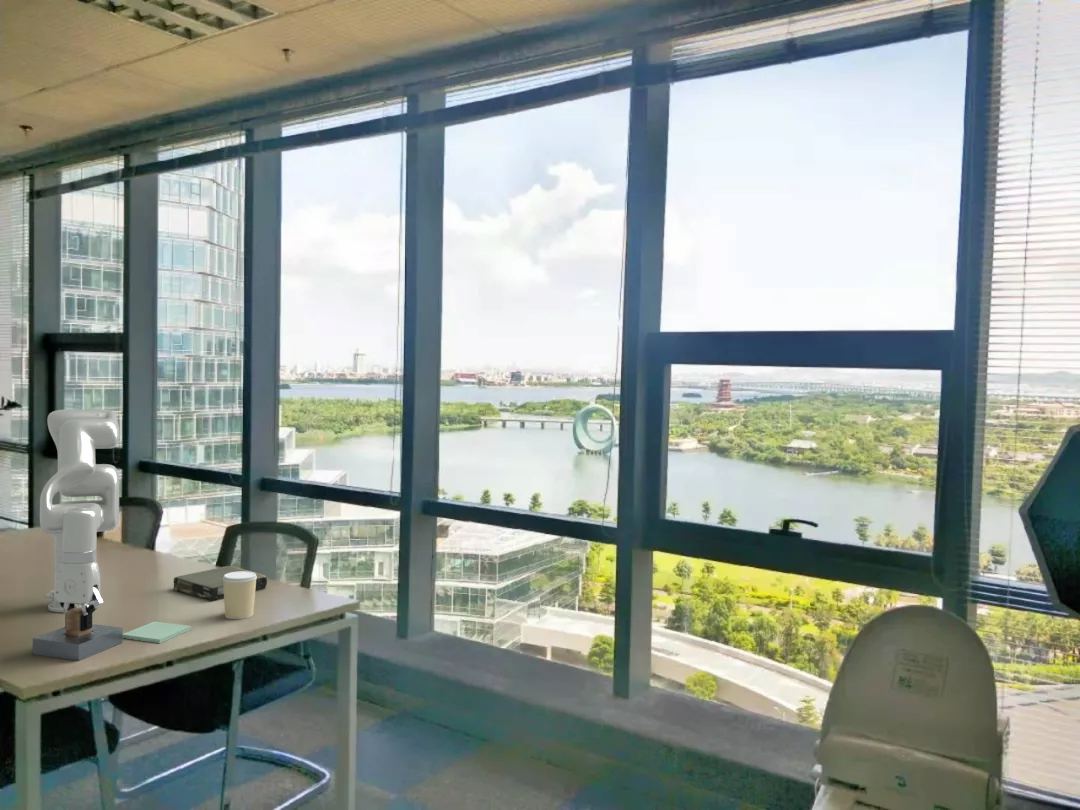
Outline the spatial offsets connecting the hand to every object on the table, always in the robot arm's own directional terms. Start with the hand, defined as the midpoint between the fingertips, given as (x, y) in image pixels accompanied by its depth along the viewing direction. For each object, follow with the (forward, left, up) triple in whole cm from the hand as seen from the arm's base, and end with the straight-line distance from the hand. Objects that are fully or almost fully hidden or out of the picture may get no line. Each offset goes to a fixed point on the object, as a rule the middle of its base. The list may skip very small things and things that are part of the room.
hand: (78, 627), depth 204 cm
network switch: (-3, +60, -6) cm, 60 cm away
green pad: (+10, +16, -5) cm, 20 cm away
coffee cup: (+20, +38, -6) cm, 43 cm away
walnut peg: (0, 0, -5) cm, 5 cm away
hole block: (0, 0, -5) cm, 5 cm away
